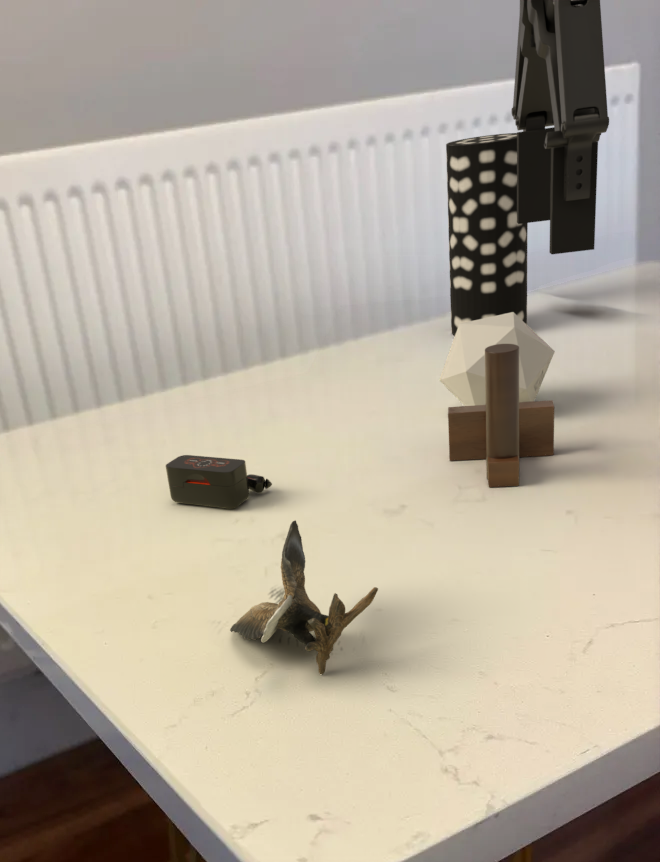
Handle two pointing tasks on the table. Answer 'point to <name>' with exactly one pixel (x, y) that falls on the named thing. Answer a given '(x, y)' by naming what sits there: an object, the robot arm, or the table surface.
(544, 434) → the wooden block stack
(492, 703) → the table surface
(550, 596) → the table surface
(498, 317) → the die
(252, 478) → the wireless earbuds
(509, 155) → the spotted tube
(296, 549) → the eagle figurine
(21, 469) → the table surface
